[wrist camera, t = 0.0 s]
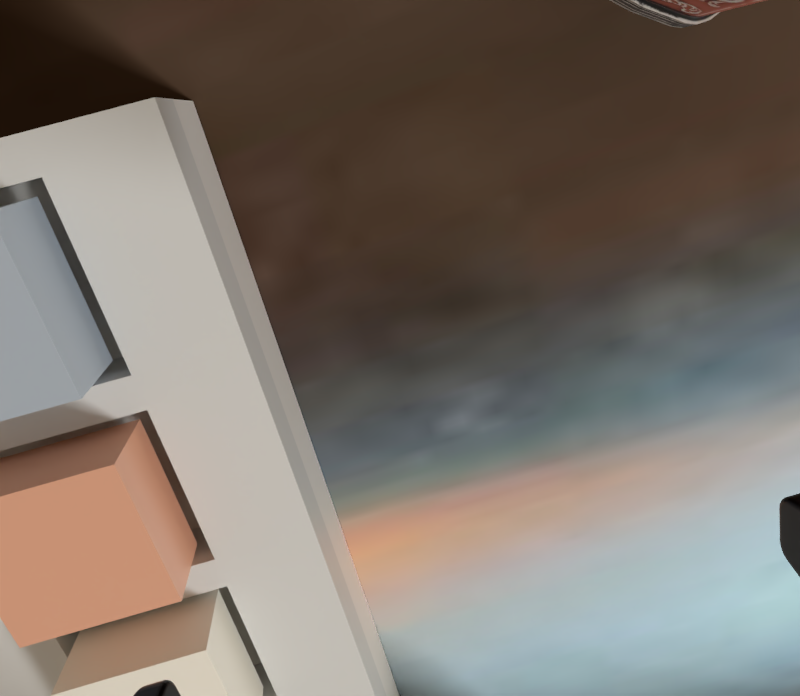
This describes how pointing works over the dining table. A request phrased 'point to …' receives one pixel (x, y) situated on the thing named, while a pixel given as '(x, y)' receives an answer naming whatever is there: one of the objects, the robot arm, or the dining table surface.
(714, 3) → the lighter
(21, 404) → the key slate
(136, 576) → the key terracotta
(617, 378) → the dining table surface
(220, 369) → the keypad
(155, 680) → the key cream
